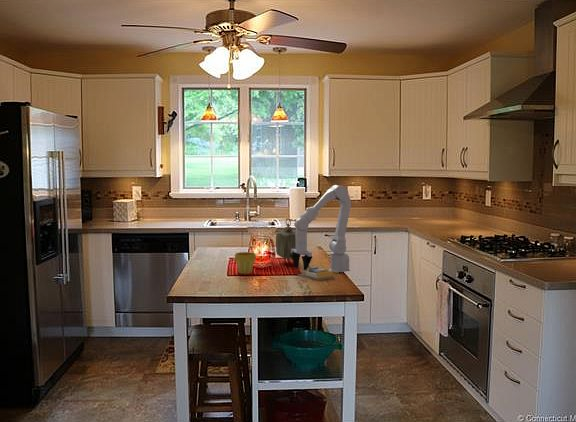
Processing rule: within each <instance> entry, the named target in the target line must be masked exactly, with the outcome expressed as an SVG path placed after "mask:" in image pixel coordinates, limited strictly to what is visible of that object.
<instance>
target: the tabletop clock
mask: <svg viewBox="0 0 576 422" xmlns="http://www.w3.org/2000/svg"><path fill="white" fill-rule="evenodd" d="M287 221H289V223H287ZM291 221H292V220H291V219H290V218H286V219H285V225H286V227H284V228H283V230H281V231H278V232H276V234H275V250H276V251H275V252H276V255H278V257H281V258H283V261H282V264H284V265H285V264H287V263H286V262H290V261H291V259H292V258H291V256H290V254H292V253H291V249H296V230H293V228H292V227H291V224H292V222H291Z"/></svg>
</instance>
